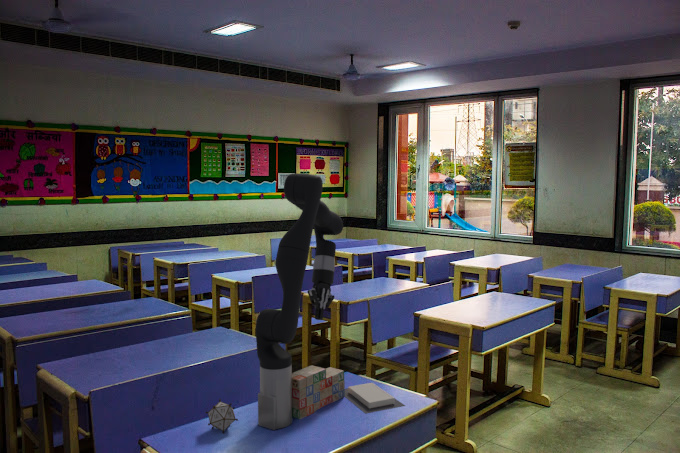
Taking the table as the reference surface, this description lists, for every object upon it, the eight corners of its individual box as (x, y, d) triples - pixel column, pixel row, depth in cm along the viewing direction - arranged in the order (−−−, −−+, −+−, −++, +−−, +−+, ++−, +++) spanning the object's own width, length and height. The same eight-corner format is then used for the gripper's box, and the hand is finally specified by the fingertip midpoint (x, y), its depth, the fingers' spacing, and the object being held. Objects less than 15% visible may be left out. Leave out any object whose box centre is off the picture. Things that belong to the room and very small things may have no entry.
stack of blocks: (330, 394, 181) (330, 357, 181) (345, 398, 177) (344, 361, 177) (284, 414, 165) (284, 375, 164) (299, 420, 161) (299, 379, 160)
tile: (348, 386, 180) (369, 402, 167) (372, 382, 184) (394, 397, 171) (348, 392, 181) (369, 409, 167) (372, 388, 184) (394, 404, 171)
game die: (218, 440, 156) (214, 405, 161) (244, 431, 155) (240, 396, 160) (202, 436, 149) (198, 400, 154) (229, 427, 147) (225, 391, 152)
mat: (336, 391, 183) (336, 390, 183) (373, 385, 189) (373, 383, 189) (365, 415, 164) (365, 413, 164) (405, 407, 170) (405, 405, 170)
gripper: (320, 265, 184) (315, 317, 179) (343, 273, 194) (338, 322, 190) (303, 266, 188) (298, 317, 184) (326, 274, 199) (321, 322, 194)
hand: (318, 319), depth 187 cm, fingers closed
